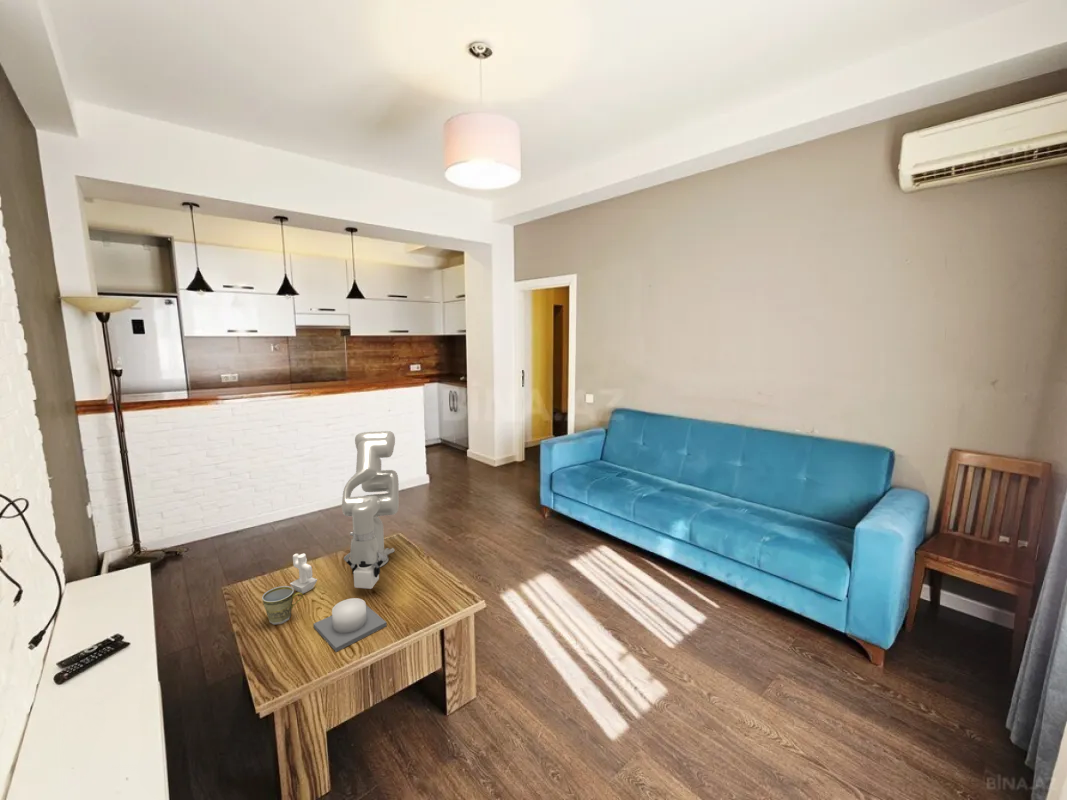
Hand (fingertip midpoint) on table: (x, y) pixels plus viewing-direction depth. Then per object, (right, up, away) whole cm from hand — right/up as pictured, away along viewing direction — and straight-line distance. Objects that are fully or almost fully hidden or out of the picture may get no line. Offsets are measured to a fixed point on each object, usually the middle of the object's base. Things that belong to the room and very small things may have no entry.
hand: (366, 575), depth 180 cm
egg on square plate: (+2, -10, -20) cm, 23 cm away
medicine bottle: (0, -4, +1) cm, 4 cm away
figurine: (-26, -7, +3) cm, 27 cm away
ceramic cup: (-24, -10, -15) cm, 30 cm away
